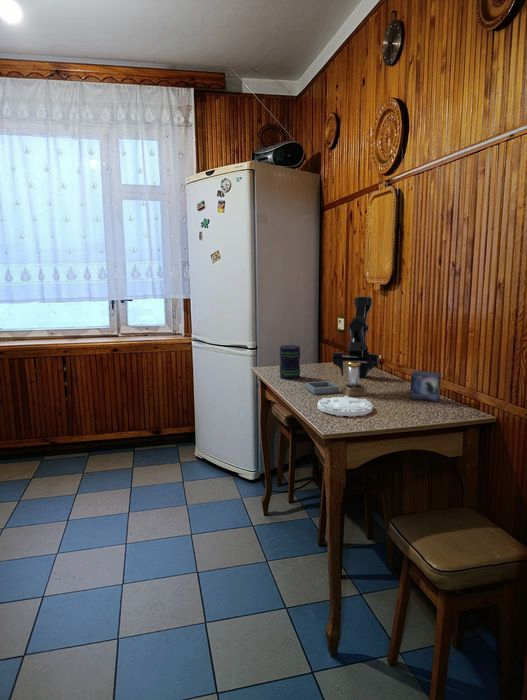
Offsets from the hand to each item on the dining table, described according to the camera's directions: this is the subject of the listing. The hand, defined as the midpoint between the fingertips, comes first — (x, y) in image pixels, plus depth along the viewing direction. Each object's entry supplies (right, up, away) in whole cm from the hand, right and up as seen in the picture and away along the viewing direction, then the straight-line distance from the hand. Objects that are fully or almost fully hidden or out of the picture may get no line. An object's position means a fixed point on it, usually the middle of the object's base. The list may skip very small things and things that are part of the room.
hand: (353, 376), depth 192 cm
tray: (-12, -6, +7) cm, 16 cm away
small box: (+27, -9, -8) cm, 29 cm away
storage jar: (-24, -3, +32) cm, 40 cm away
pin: (0, -7, +2) cm, 7 cm away
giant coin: (-7, -11, -20) cm, 25 cm away
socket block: (0, -7, +2) cm, 7 cm away
